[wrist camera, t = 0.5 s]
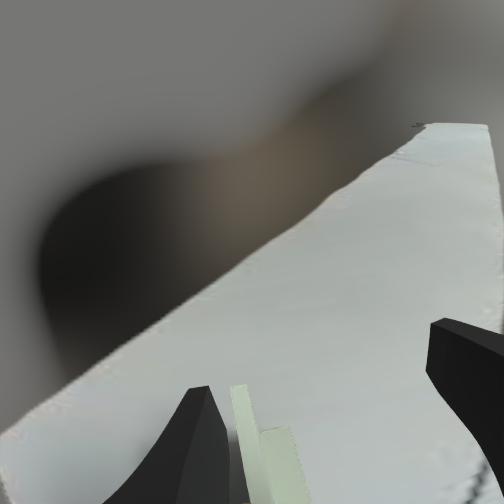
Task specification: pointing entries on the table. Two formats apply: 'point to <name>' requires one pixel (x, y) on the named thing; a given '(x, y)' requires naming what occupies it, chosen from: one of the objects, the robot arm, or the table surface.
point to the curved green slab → (267, 457)
